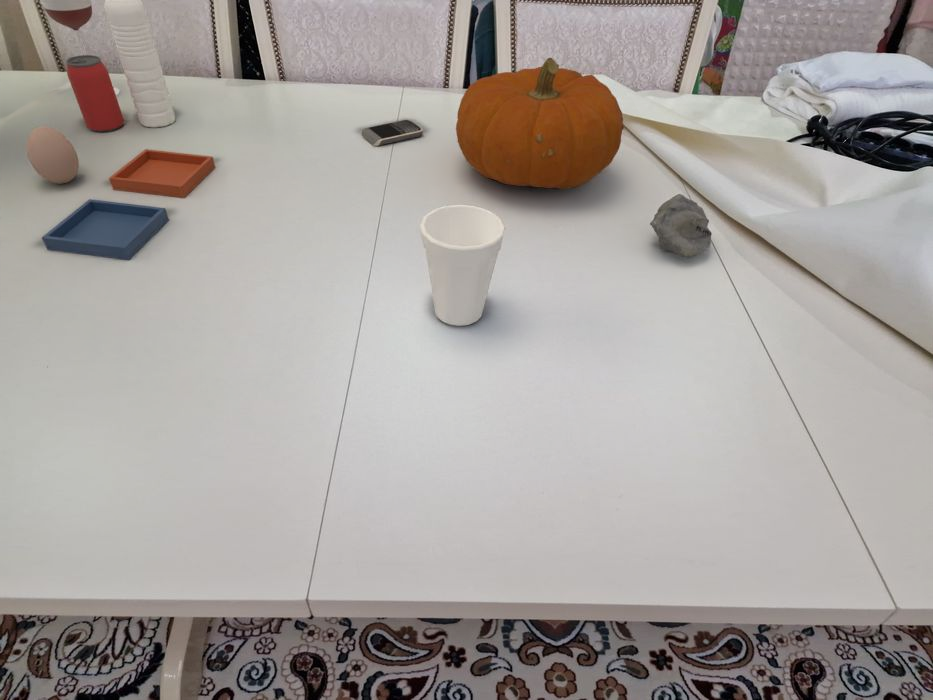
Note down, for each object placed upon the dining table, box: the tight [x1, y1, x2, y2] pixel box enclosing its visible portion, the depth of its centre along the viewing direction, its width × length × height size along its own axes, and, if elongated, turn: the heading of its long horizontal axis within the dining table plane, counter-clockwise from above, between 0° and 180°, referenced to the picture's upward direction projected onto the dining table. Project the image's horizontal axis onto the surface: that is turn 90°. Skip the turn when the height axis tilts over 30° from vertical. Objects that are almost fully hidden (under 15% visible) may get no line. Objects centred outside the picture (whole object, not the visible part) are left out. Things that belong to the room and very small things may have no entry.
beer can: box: [65, 54, 125, 133], centre depth 114 cm, size 7×7×12 cm
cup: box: [419, 204, 506, 327], centre depth 76 cm, size 10×10×13 cm
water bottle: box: [103, 0, 176, 128], centre depth 112 cm, size 9×6×25 cm
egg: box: [26, 125, 80, 185], centre depth 98 cm, size 7×7×9 cm
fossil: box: [649, 193, 713, 259], centre depth 92 cm, size 11×9×8 cm
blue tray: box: [41, 198, 170, 261], centre depth 89 cm, size 12×11×2 cm
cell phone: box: [361, 119, 424, 147], centre depth 120 cm, size 6×11×1 cm, turn 124°
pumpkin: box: [455, 57, 625, 189], centre depth 104 cm, size 28×28×20 cm
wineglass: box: [39, 0, 121, 96], centre depth 122 cm, size 9×10×22 cm
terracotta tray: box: [108, 148, 216, 199], centre depth 103 cm, size 12×11×2 cm
